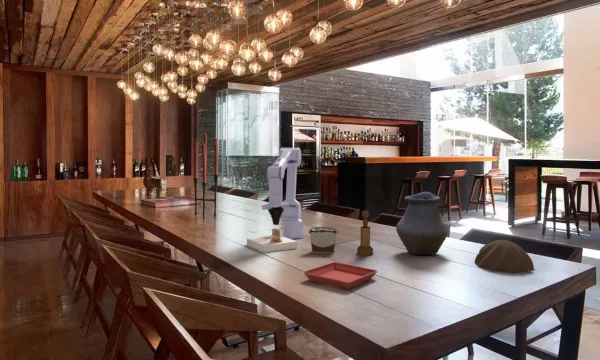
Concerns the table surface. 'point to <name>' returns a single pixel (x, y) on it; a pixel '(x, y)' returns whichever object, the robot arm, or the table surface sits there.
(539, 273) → the table surface
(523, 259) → the decorative dome
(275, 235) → the oak peg
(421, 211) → the grey ceramic jar
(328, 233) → the food container
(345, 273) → the plant saucer
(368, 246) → the brown wooden tall figure
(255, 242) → the hole board
